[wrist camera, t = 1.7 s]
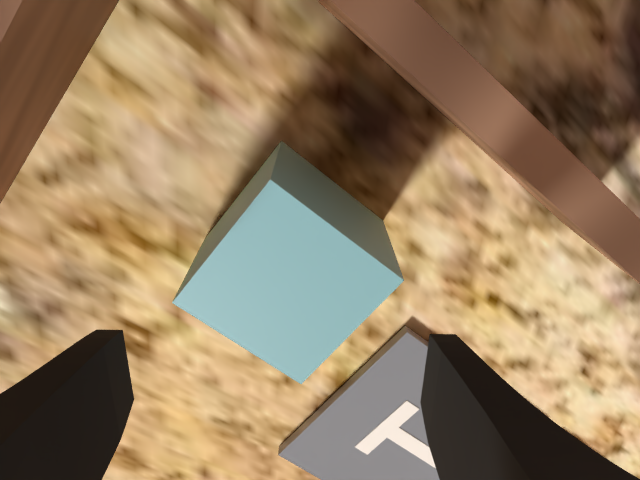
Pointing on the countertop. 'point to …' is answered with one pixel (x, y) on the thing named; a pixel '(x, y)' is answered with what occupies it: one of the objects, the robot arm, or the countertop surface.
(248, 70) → the countertop surface
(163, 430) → the countertop surface
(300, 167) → the light blue cube
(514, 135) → the walnut screen
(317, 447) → the tile
